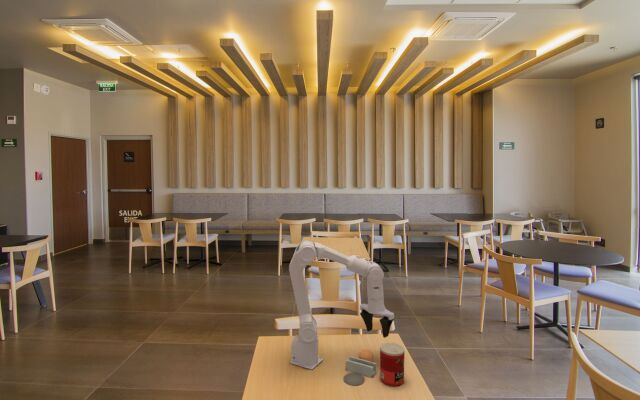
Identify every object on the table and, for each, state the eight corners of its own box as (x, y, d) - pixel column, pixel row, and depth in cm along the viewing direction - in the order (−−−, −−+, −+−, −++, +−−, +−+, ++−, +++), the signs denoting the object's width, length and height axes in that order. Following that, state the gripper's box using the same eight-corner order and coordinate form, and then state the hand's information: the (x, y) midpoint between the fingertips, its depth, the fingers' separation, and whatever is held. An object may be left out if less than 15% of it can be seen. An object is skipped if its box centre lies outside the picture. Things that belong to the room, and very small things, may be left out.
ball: (356, 364, 135) (357, 351, 134) (362, 358, 139) (362, 345, 139) (370, 368, 132) (370, 354, 132) (375, 362, 137) (375, 348, 136)
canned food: (399, 389, 120) (399, 356, 119) (376, 381, 124) (376, 349, 123) (407, 377, 126) (407, 346, 125) (384, 371, 131) (385, 340, 130)
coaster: (339, 381, 124) (339, 381, 124) (349, 371, 130) (349, 370, 130) (359, 387, 121) (359, 387, 121) (367, 377, 127) (367, 376, 127)
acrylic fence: (345, 369, 131) (345, 360, 131) (349, 365, 134) (349, 356, 134) (372, 377, 126) (372, 367, 126) (376, 373, 129) (376, 363, 129)
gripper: (398, 298, 133) (400, 335, 134) (368, 289, 144) (370, 324, 145) (385, 304, 128) (387, 342, 129) (355, 295, 139) (357, 330, 140)
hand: (377, 333), depth 137 cm, fingers open, 7 cm apart
